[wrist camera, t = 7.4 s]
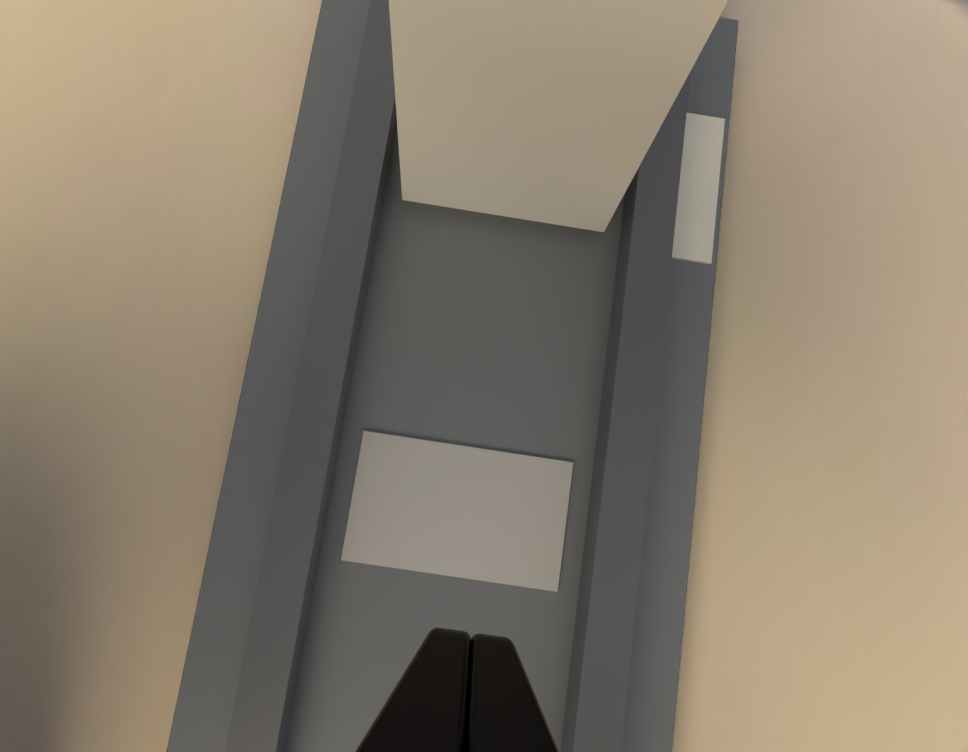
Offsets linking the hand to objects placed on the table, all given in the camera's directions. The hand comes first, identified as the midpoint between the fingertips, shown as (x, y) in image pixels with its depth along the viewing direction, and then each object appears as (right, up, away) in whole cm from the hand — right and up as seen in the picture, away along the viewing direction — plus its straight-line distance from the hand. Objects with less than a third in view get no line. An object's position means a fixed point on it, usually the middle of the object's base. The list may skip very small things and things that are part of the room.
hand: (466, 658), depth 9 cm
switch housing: (0, +3, +13) cm, 13 cm away
